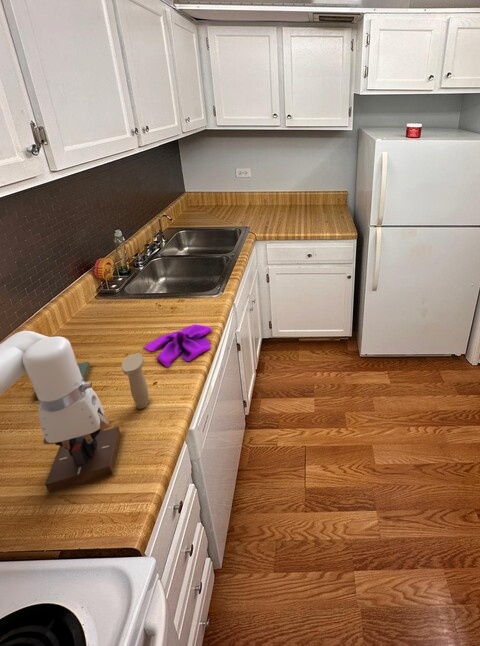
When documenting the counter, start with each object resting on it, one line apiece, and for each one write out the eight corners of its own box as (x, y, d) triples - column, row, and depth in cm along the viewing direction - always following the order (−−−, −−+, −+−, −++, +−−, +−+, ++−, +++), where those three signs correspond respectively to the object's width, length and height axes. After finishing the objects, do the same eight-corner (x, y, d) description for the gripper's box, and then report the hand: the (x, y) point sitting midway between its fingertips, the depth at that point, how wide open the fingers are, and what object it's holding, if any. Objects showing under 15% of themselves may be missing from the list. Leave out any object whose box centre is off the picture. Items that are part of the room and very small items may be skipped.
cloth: (211, 322, 125) (209, 308, 123) (216, 355, 109) (214, 340, 106) (145, 336, 117) (142, 322, 115) (140, 374, 101) (137, 358, 99)
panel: (48, 493, 70) (44, 484, 69) (65, 450, 79) (61, 440, 78) (112, 474, 74) (109, 465, 73) (121, 434, 83) (118, 425, 82)
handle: (132, 416, 88) (120, 373, 82) (134, 397, 93) (123, 355, 88) (152, 411, 89) (141, 368, 84) (153, 392, 95) (143, 351, 89)
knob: (84, 443, 78) (79, 428, 76) (92, 440, 78) (87, 426, 76) (76, 465, 73) (71, 451, 71) (85, 463, 73) (79, 448, 72)
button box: (36, 399, 93) (31, 388, 91) (48, 375, 100) (44, 365, 99) (81, 388, 96) (78, 378, 94) (90, 366, 104) (87, 356, 102)
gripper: (110, 370, 75) (127, 428, 81) (24, 389, 70) (50, 449, 76) (102, 396, 68) (121, 457, 75) (6, 419, 63) (36, 482, 70)
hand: (85, 452), depth 76 cm, fingers closed
